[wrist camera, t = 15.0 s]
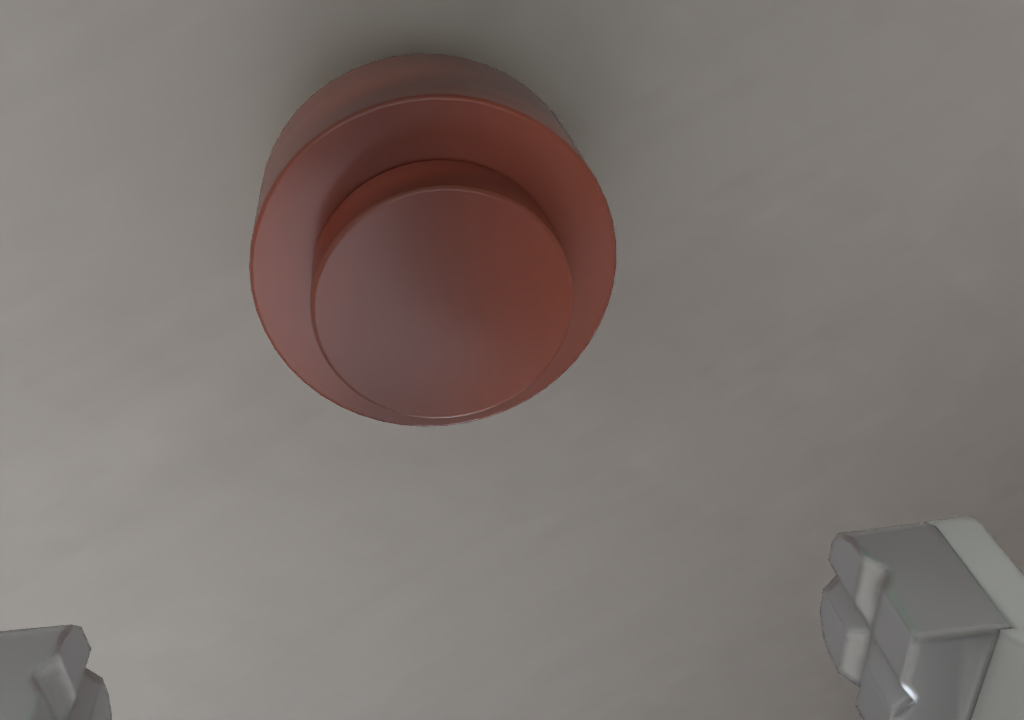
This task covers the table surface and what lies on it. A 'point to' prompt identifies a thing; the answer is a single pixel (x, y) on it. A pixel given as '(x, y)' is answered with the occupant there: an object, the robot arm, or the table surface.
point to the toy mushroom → (429, 243)
